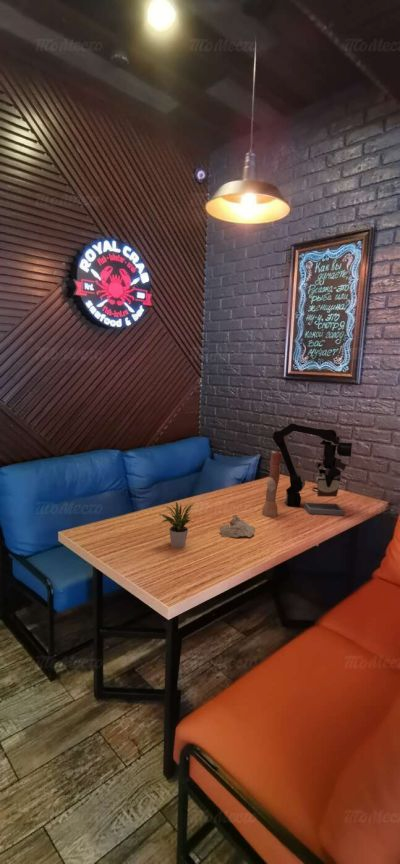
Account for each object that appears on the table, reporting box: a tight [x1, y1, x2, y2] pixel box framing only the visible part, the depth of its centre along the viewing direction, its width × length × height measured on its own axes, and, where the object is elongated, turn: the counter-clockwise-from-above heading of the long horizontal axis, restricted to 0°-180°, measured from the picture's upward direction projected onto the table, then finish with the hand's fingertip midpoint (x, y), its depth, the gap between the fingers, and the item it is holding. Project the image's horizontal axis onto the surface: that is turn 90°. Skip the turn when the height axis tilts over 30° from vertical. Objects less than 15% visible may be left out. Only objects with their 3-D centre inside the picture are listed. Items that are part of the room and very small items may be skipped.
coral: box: [219, 514, 255, 539], centre depth 175 cm, size 18×16×5 cm
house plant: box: [158, 500, 196, 549], centre depth 159 cm, size 14×14×16 cm
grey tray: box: [303, 502, 345, 517], centre depth 207 cm, size 17×11×2 cm, turn 91°
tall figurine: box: [261, 450, 282, 518], centre depth 198 cm, size 11×7×30 cm
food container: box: [315, 473, 343, 498], centre depth 209 cm, size 12×6×10 cm, turn 93°
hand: (326, 485), depth 208 cm, fingers closed on food container, 6 cm apart
